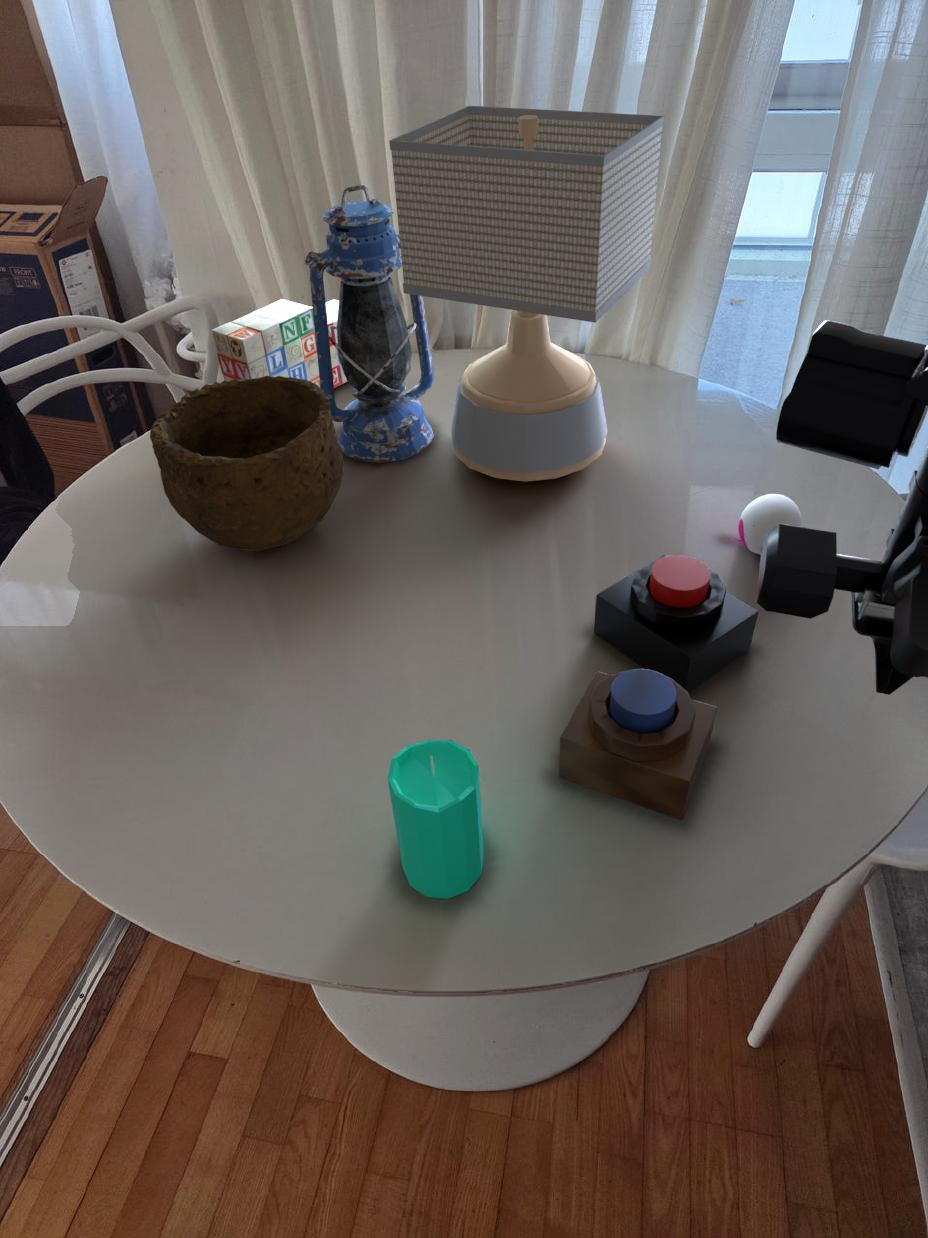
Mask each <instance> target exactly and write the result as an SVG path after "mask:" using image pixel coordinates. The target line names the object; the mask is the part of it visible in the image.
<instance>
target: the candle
mask: <svg viewBox="0 0 928 1238" xmlns="http://www.w3.org/2000/svg"><path fill="white" fill-rule="evenodd" d="M387 783H388V790H389V795H390V803H391V807H392V813H393V819H394V826H395V832H396V837H397V842H398V849H399V853H400V854H399V856H400V860H401V861H400V862H401V867H402V871H403V872H404V875H405V877H406V879H407V882H408V885H409V886H410V887H411V888H413V889H415V890H416V891H417V892H419V893H420V894H421V895H422V896H425V897H427V898H435V899H436V898H437V899H447V900H449V899H452V898H454V897H456V896H459V895H461V894H464V893H466V892H468V891H470V890H471V889H472V888H473V886H474V885H475V883H476V882H477V881H478V880H479V878H480V877H481V876H482V874H483V873H482V872H483V865H484V857H485V856H484V854H485V853H484V839H483V837H484V836H483V821H482V820H483V819H482V804H481V803H482V800H481V786H480V784H481V782H480V767H479V763H478V762H477V760H476V759H475V757H474V755H473V753H472V751H471V750H470V749H469V748H468V747H465V746H463V745H461V744H460V743H458V742H456V741H454V740H452V739H426V740H423V741H419V742H416V743H412V744H409V745H406V746H404V748H402V749H400V750H399V751H398V752H397V753H396V754H394V755H393V756H392V757H391V759H390V765H389V769H388V773H387Z"/></svg>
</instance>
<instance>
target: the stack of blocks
mask: <svg viewBox="0 0 928 1238" xmlns="http://www.w3.org/2000/svg"><path fill="white" fill-rule="evenodd" d="M325 302H326V301H325ZM338 308H339V300H337V299H331V300H329V301H327V302H326V312H327V322H328V327H329V326H333V325H334V326H337V319H338ZM329 331H330V334H331V336H332V338H333V340H334V341H335V343H336V344H337V345H338V338H337V329H330V330H329ZM211 333H212V337H213V340H214V343H215V347H216V351H217V353H216V355H217V356H216V357H217V359H218V364H219V366H220V372H221V373H222V376H223V381H228V382H229V381H231V380H233V379H239V380H248V379H255V378H261V377H264V376H272V377H277V376H281V377H286V378H287V377H294V378H299V379H306V380H307V381H310V382H312V383H314V384H316V385H318V386H319V387H320V377H319V367H318V356H317V346H316V336H315V325H314V315H313V306H309V305H306V304H303V303H298V302H296V301H295V302H294V301H292V300H291V301H290V300H288V299H284V298H280V299H279V300H277V301H274V302H272V303H270V304H267V305H266V306H263V307H261V308H259V309H256V310H254V311H252V312H250V313H248V314H246V315H243V316H241V317H239V318H236V319H234V320H232V321H230V322H227V323H224V324H222V325H220V326H217V327H215V328H213V329H212V330H211ZM329 343H330V353H331V363H332V374H333V384H334V389H336V388H337V387H339V386H342V385H344V384H345V383H348V381H347V379H346V377H345V375H344V372H343V369H342V366H341V363H340V360H339V357H338V350H337V349H336V347H335V346H334V345H333V344H332V342H331V341H330V339H329ZM320 388H321V387H320Z"/></svg>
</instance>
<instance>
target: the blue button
mask: <svg viewBox="0 0 928 1238" xmlns="http://www.w3.org/2000/svg"><path fill="white" fill-rule="evenodd" d="M676 697H677V692H676V689H675V687H674V685H673V683H672V682H671V681H670V680H669V679H668V678H667V677H666V676H664V675H662V674H661V673H658V672H656V671H652V670H648V669H644V668H634V669H629V670H626V672H624V673H622V674H620V675H619V676H618V677H617V678H616V679H615V680H614V682H613V683H612V687H611V696H610V713H611V715H612V717H613V719H614V720H615V721H616V722H617V723H618V724H619V725H620V726H622V727H623V728H625V729H627V730H630V731H633V732H637V733H653V732H657V731H660V730H662V729H664V728H665V727H667V726H668V725H669V724H670V722H671V721H672V719H673V716H674V710H675V704H676Z"/></svg>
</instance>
